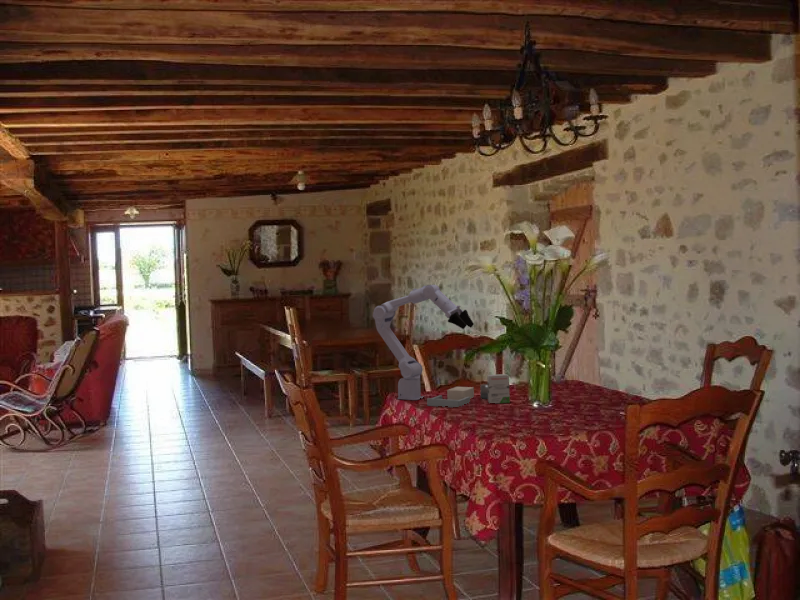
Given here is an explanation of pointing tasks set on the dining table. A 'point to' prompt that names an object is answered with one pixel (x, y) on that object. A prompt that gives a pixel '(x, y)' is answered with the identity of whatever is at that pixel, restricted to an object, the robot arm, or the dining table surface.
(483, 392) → the grey glossy ball
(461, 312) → the robot arm
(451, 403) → the display stand
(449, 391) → the carton
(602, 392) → the dining table surface
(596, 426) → the dining table surface
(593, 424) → the dining table surface
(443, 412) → the dining table surface
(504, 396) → the ink box
